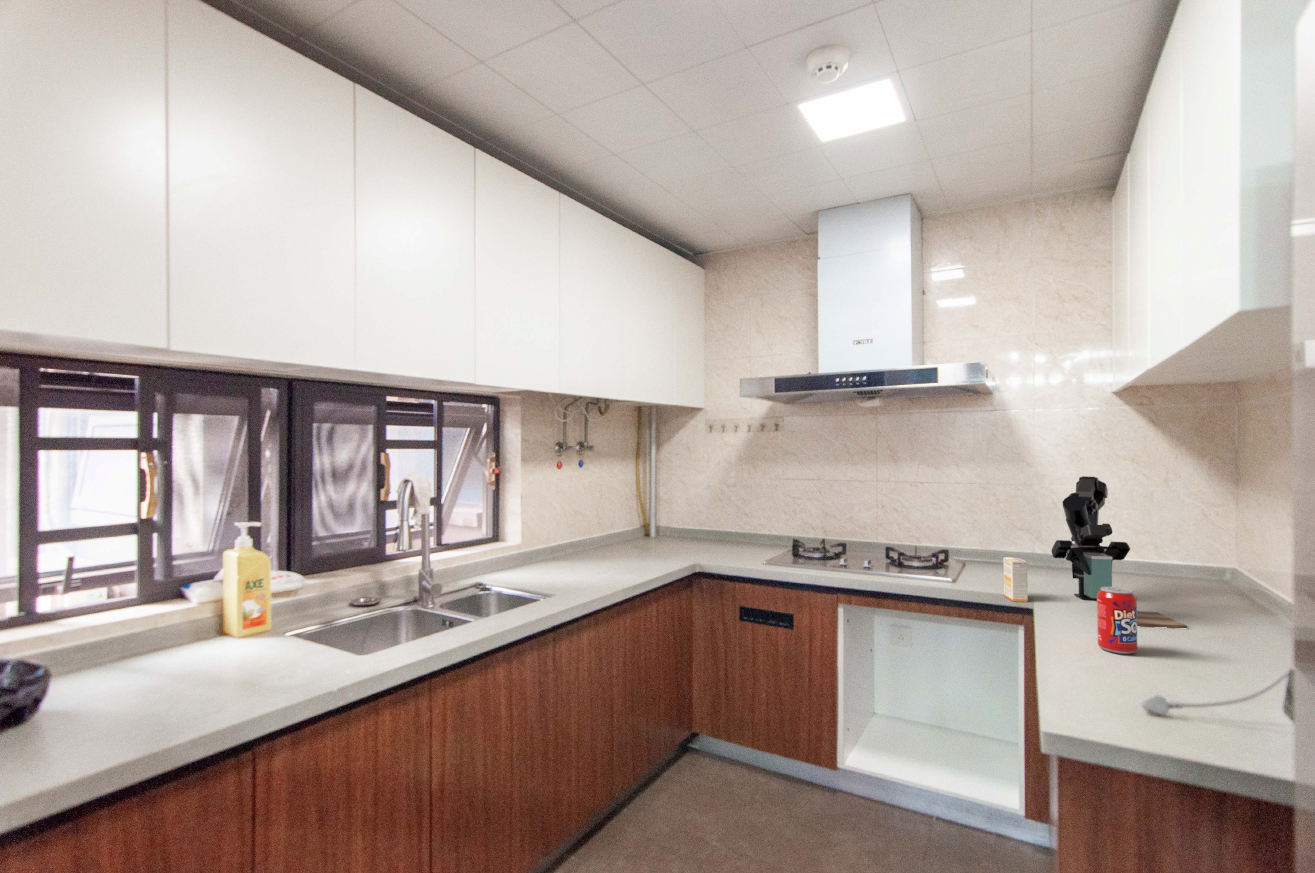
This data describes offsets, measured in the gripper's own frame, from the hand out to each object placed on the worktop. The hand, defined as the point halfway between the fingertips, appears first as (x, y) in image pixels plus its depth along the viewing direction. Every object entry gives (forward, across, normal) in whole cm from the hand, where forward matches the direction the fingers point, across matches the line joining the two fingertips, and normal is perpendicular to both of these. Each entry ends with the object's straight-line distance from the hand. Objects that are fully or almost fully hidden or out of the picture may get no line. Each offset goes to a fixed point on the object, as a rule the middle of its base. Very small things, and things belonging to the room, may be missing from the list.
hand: (1099, 574), depth 176 cm
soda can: (+28, -8, -9) cm, 31 cm away
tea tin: (+4, 0, +6) cm, 7 cm away
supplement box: (-8, -14, +27) cm, 31 cm away
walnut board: (+7, +13, +13) cm, 20 cm away
